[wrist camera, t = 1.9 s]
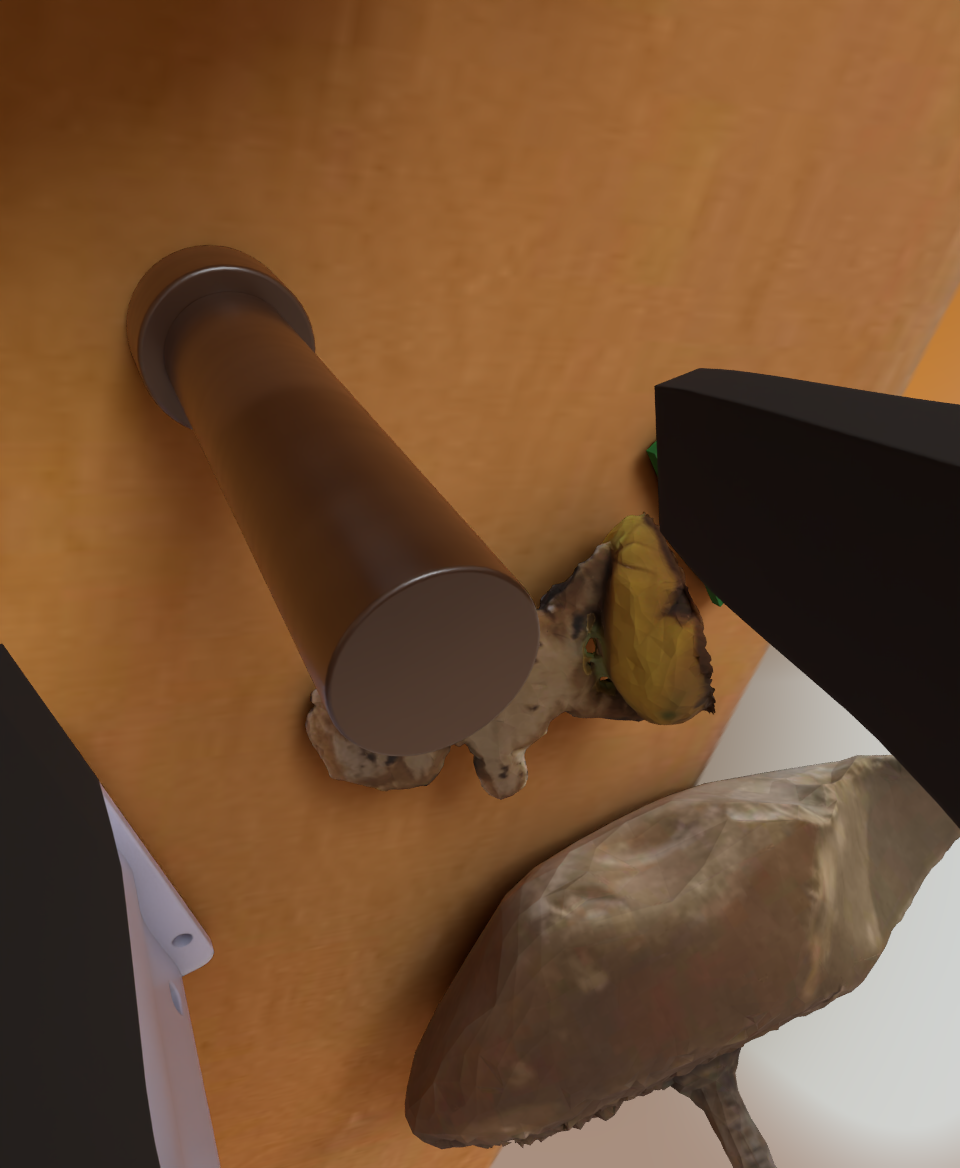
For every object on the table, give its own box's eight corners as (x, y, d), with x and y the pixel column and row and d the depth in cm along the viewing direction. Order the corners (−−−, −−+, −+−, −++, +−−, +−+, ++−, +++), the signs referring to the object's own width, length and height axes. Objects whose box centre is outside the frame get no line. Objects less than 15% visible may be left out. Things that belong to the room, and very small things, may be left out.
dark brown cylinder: (313, 376, 17) (589, 708, 9) (165, 429, 16) (332, 834, 9) (264, 222, 15) (561, 477, 8) (95, 273, 15) (231, 614, 7)
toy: (658, 458, 21) (259, 555, 21) (738, 626, 18) (267, 741, 18) (652, 617, 26) (334, 694, 26) (713, 769, 23) (351, 857, 23)
